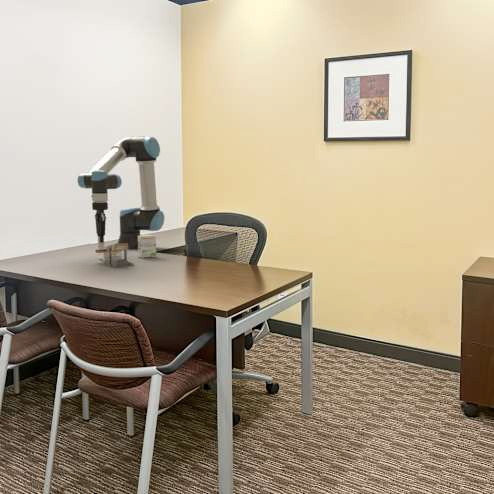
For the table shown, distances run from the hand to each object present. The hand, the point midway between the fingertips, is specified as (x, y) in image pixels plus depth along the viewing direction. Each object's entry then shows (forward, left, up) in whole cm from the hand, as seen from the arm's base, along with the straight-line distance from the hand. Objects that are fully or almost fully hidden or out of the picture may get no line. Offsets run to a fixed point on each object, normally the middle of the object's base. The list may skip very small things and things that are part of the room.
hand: (101, 248), depth 283 cm
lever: (-4, +7, -1) cm, 8 cm away
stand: (-7, +7, -7) cm, 12 cm away
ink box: (-26, -5, -7) cm, 27 cm away
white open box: (-7, -8, -7) cm, 12 cm away
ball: (-7, -7, -5) cm, 11 cm away
